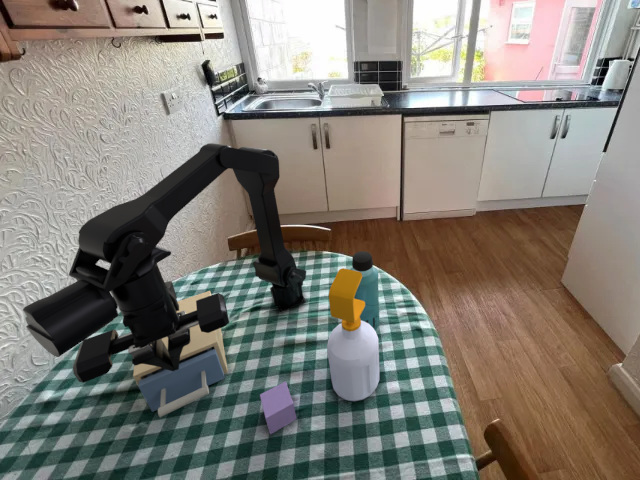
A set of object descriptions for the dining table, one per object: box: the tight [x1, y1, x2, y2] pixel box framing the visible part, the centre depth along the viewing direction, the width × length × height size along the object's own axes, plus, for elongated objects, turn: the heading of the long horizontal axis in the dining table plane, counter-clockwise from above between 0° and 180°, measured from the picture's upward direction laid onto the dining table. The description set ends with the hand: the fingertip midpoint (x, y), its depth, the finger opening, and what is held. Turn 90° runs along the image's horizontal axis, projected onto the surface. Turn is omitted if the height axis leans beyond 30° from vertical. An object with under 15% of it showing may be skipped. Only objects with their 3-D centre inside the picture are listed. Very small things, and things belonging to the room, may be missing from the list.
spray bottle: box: [326, 267, 380, 402], centre depth 54 cm, size 9×9×25 cm
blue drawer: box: [137, 346, 226, 418], centre depth 58 cm, size 19×11×7 cm, turn 31°
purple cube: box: [259, 381, 297, 435], centre depth 53 cm, size 4×4×4 cm
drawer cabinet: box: [132, 290, 229, 386], centre depth 62 cm, size 16×13×9 cm
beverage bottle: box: [349, 250, 381, 332], centre depth 65 cm, size 6×7×20 cm
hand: (176, 368), depth 51 cm, fingers closed
